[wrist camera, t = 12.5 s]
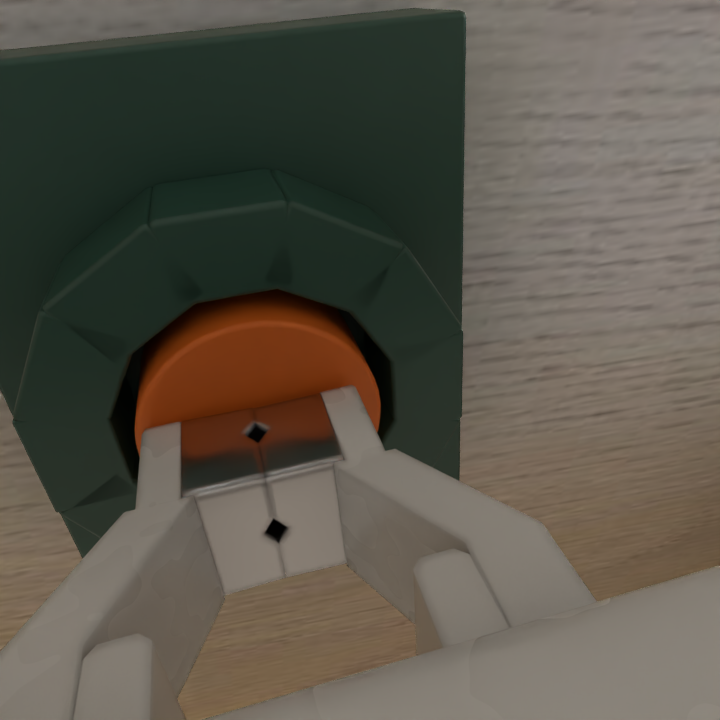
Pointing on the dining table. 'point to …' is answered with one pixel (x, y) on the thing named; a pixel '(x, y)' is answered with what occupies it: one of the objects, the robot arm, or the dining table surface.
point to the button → (248, 359)
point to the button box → (227, 221)
